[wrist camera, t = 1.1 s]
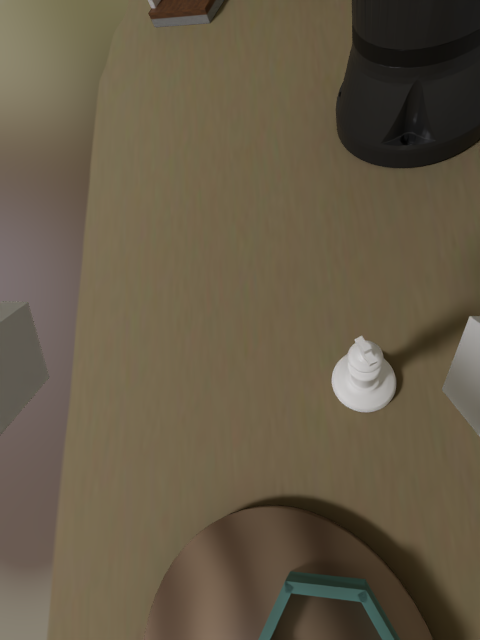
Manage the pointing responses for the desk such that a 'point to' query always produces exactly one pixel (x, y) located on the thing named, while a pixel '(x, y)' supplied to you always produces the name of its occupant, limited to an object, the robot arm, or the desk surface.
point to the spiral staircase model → (182, 11)
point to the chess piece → (364, 378)
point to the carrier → (281, 584)
